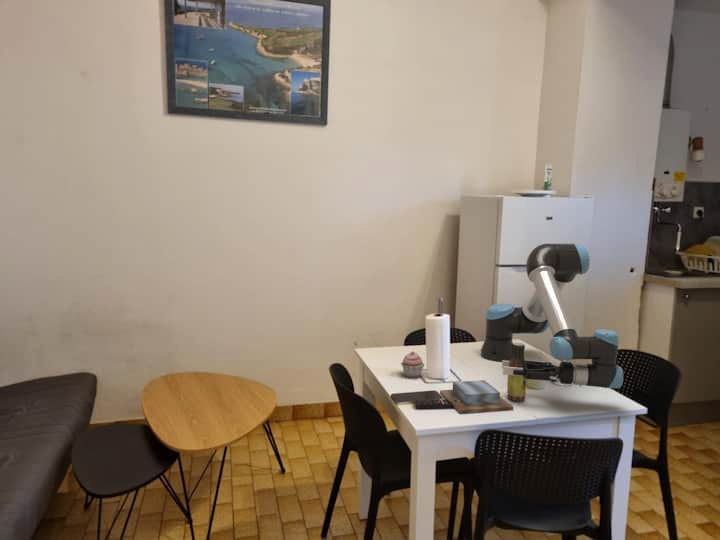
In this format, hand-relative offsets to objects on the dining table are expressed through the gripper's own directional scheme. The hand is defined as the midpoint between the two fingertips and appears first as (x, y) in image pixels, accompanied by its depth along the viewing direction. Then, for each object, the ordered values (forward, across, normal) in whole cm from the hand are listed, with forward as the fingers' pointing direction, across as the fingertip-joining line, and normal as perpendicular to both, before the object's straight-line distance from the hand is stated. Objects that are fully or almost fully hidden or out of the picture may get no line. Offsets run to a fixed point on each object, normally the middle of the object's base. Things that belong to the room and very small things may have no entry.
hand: (502, 367), depth 182 cm
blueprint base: (+9, -7, -11) cm, 16 cm away
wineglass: (-24, +22, -11) cm, 34 cm away
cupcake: (+33, +14, -11) cm, 38 cm away
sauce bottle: (-5, 0, -11) cm, 12 cm away
